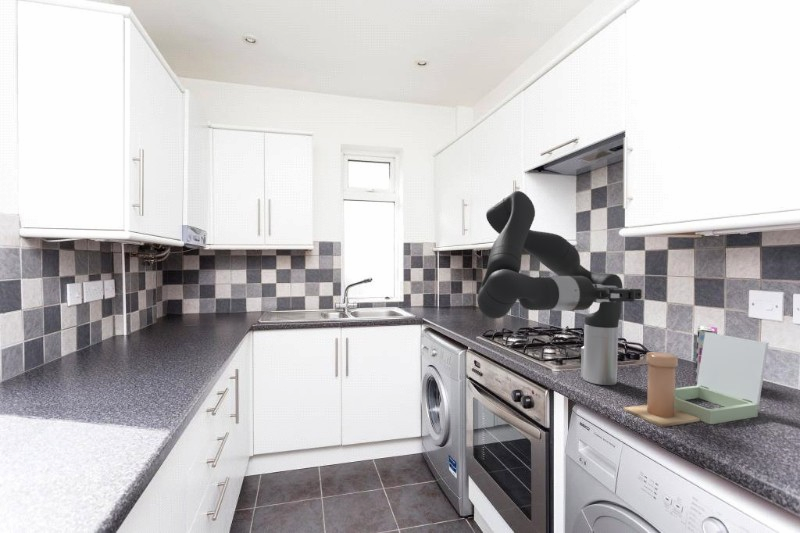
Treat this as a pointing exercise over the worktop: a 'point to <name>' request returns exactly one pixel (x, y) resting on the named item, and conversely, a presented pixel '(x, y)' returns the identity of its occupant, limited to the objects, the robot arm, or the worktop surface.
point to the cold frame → (729, 412)
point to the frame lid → (733, 366)
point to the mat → (661, 421)
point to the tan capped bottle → (661, 383)
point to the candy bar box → (701, 345)
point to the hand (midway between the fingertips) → (623, 292)
